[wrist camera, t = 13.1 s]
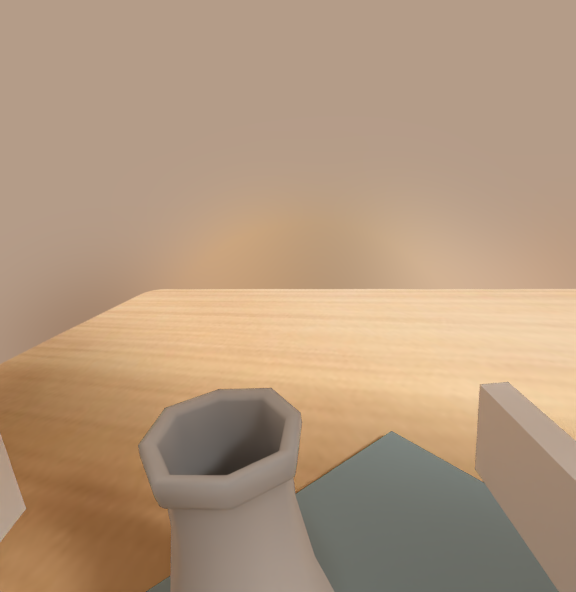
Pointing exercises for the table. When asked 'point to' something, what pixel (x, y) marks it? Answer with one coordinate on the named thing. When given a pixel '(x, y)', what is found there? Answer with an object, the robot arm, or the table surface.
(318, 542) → the mat
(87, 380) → the table surface
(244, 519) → the flask
